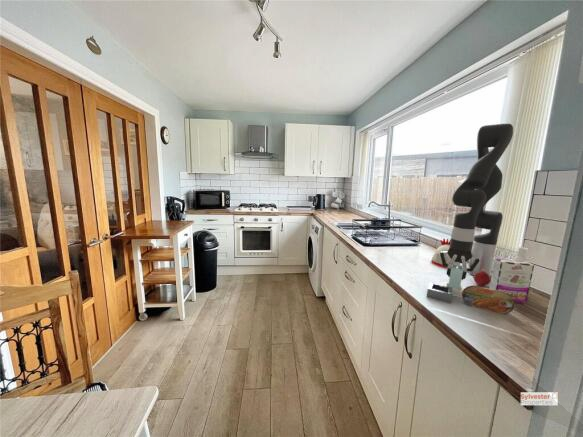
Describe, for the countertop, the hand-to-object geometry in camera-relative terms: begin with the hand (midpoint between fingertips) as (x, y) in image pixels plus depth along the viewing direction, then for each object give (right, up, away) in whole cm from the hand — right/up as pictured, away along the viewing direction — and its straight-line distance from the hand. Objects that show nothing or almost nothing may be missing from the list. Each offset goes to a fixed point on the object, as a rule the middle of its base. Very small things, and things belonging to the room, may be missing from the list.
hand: (455, 277), depth 99 cm
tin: (+3, -9, -11) cm, 15 cm away
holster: (-1, -7, +1) cm, 7 cm away
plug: (0, -3, +1) cm, 4 cm away
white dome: (+20, -2, +37) cm, 42 cm away
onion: (+18, -6, +9) cm, 21 cm away
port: (-9, -7, -3) cm, 12 cm away
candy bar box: (+19, -8, -2) cm, 21 cm away
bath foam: (+30, -8, +5) cm, 31 cm away
